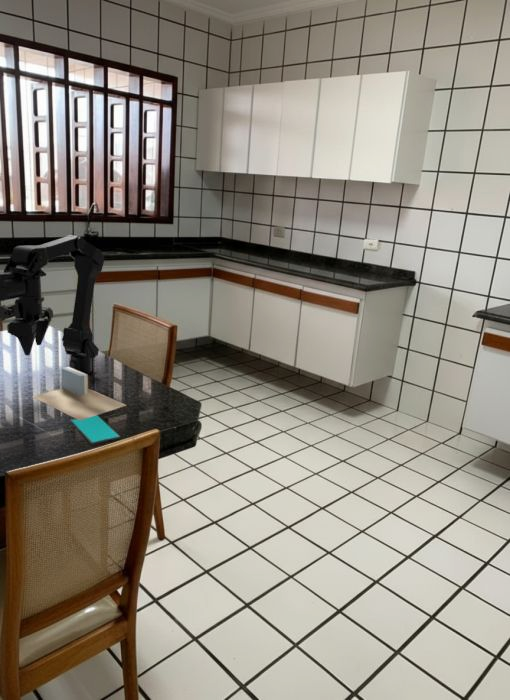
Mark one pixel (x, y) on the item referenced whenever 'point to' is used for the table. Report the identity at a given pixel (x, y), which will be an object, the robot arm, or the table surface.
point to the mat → (79, 403)
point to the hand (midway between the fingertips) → (33, 349)
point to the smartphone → (95, 430)
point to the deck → (75, 381)
